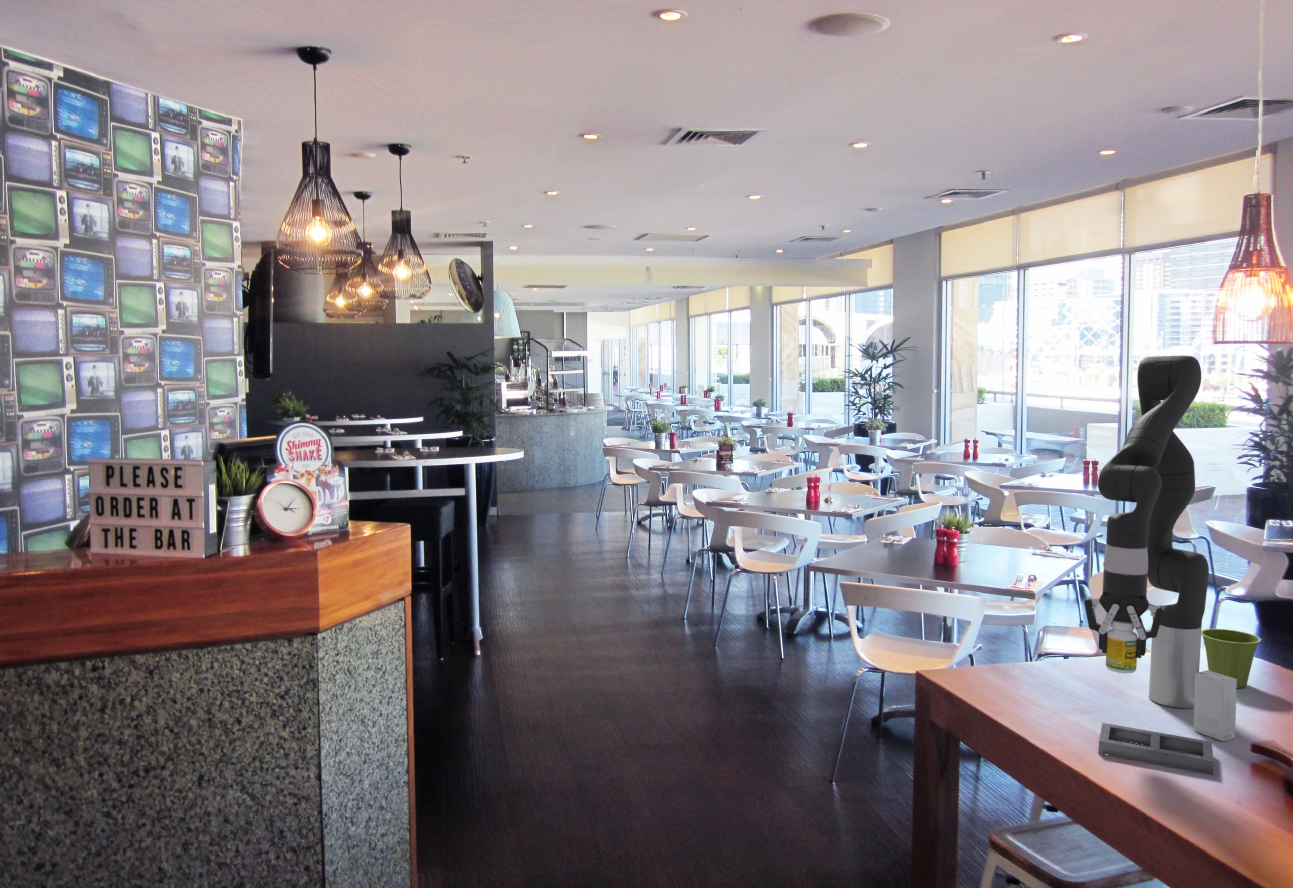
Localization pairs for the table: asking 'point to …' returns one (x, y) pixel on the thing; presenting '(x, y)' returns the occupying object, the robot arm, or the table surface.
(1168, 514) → the robot arm
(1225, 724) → the skincare box
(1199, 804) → the table surface
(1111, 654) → the supplement bottle
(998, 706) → the table surface
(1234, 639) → the plant pot
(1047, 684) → the table surface
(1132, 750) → the rail
